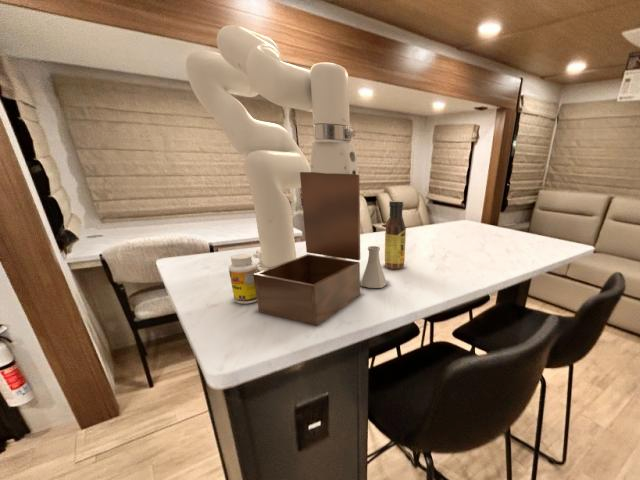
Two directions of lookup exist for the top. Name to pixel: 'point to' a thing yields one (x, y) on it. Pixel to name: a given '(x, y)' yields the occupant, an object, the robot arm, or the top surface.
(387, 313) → the top surface
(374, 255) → the flask
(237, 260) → the supplement bottle
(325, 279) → the brown wooden box
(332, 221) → the lid
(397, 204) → the sauce bottle
